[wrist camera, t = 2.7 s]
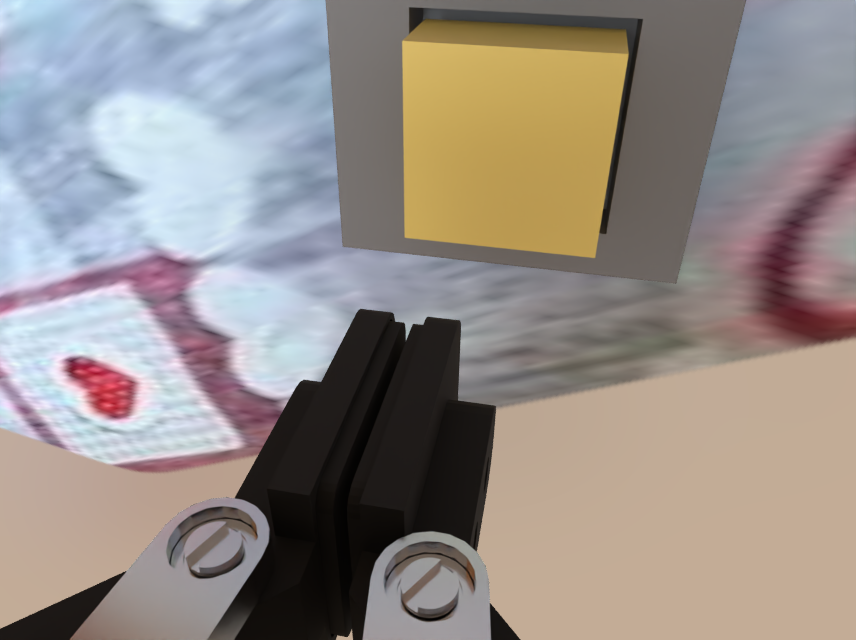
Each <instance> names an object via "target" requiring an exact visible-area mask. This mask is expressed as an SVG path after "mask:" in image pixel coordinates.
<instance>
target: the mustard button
mask: <svg viewBox="0 0 856 640" xmlns="http://www.w3.org/2000/svg"><path fill="white" fill-rule="evenodd" d="M628 55H629V52H628V43H627V34H626V29H610V28H591V27H572V26H553V25H534V24H515V23H496V22H477V21H458V20H439V19H425V20H424V21H423V22H422V23H420V24H419V25H418V26H417V27H416V28H415V29H414V30H413V31H412V32H411V33H410V34H409V35H408V36H407V37H406V38H405V39H404V40H403V41H402V62H403V145H404V227H405V238H412V239H421V240H431V241H440V242H449V243H459V244H468V245H478V246H487V247H496V248H506V249H515V250H524V251H534V252H543V253H552V254H562V255H571V256H580V257H590V258H595V255H596V249H597V243H598V237H599V231H600V225H601V219H602V213H603V207H604V201H605V195H606V189H607V183H608V177H609V171H610V165H611V158H612V152H613V146H614V140H615V134H616V128H617V122H618V116H619V110H620V104H621V98H622V92H623V86H624V80H625V74H626V68H627V62H628Z"/></svg>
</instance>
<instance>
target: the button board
mask: <svg viewBox="0 0 856 640" xmlns="http://www.w3.org/2000/svg"><path fill="white" fill-rule="evenodd" d="M745 2H746V0H326V11H327V26H328V40H329V55H330V69H331V84H332V98H333V113H334V127H335V142H336V156H337V170H338V185H339V199H340V214H341V228H342V243H343V247H351V248H360V249H369V250H378V251H387V252H396V253H405V254H414V255H423V256H432V257H441V258H450V259H459V260H468V261H477V262H486V263H495V264H504V265H513V266H522V267H531V268H540V269H549V270H558V271H567V272H576V273H585V274H594V275H603V276H612V277H621V278H630V279H639V280H648V281H657V282H666V283H675V284H676V282H677V278H678V274H679V270H680V266H681V262H682V258H683V254H684V250H685V246H686V242H687V238H688V234H689V230H690V226H691V221H692V217H693V213H694V209H695V205H696V201H697V197H698V193H699V189H700V185H701V181H702V177H703V173H704V169H705V165H706V161H707V157H708V153H709V148H710V144H711V140H712V136H713V132H714V128H715V124H716V120H717V116H718V112H719V108H720V104H721V100H722V96H723V92H724V88H725V84H726V79H727V75H728V71H729V67H730V63H731V59H732V55H733V51H734V47H735V43H736V39H737V35H738V31H739V27H740V23H741V19H742V15H743V11H744V6H745ZM425 19H439V20H458V21H477V22H496V23H515V24H534V25H553V26H572V27H591V28H610V29H626V34H627V43H628V52H629V55H628V62H627V68H626V74H625V80H624V86H623V92H622V98H621V104H620V110H619V116H618V122H617V128H616V134H615V140H614V146H613V152H612V158H611V165H610V171H609V177H608V183H607V189H606V195H605V201H604V207H603V213H602V219H601V225H600V231H599V237H598V243H597V249H596V255H595V258H590V257H580V256H571V255H562V254H552V253H543V252H534V251H524V250H515V249H506V248H496V247H487V246H478V245H468V244H459V243H449V242H440V241H431V240H421V239H412V238H405V227H404V145H403V62H402V41H403V40H404V39H405V38H406V37H407V36H408V35H409V34H410V33H411V32H412V31H413V30H414V29H415V28H416V27H417V26H418V25H419V24H420V23H422V22H423V21H424V20H425Z"/></svg>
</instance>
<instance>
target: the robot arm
mask: <svg viewBox="0 0 856 640" xmlns="http://www.w3.org/2000/svg"><path fill="white" fill-rule="evenodd" d="M460 337H461V322H460V321H459V320H451V319H442V318H434V317H427V318H426V320H425V322H424V325H418V324H413V325H412V327H411V330H410V333H409V335H408V338H407V340H406V331H405V324H404V323H402V322H395V318H394V314H393V313H391V312H383V311H374V310H366V309H360V310H358V312H357V313H356V315H355V317H354V319H353V321H352V323H351V325H350V327H349V329H348V331H347V333H346V335H345V337H344V339H343V341H342V343H341V345H340V347H339V348H338V350H337V352H336V354H335V356H334V358H333V360H332V362H331V364H330V366H329V368H328V370H327V372H326V374H325V376H324V378H323V380H322V382H317V381H309V380H303V381H301V382H300V383H299V384H298V386H297V387H296V388H295V390H294V392H293V394H292V396H291V397H290V399H289V401H288V403H287V405H286V406H285V408H284V410H283V412H282V414H281V415H280V417H279V419H278V421H277V423H276V424H275V426H274V428H273V430H272V432H271V433H270V435H269V437H268V439H267V441H266V442H265V444H264V446H263V448H262V450H261V451H260V453H259V455H258V457H257V459H256V460H255V462H254V464H253V466H252V468H251V470H250V471H249V473H248V475H247V477H246V479H245V480H244V482H243V484H242V486H241V487H240V489H239V491H238V493H237V495H236V497H235V498H228V497H226V498H215V499H209V500H206V501H203V502H200V503H196V504H194V505H192V506H190V507H188V508H187V509H185V510H183V511H181V512H180V513H178V514H177V515H176V516H175V517H174V518H173V519H172V520H170V521H169V522H168V523H167V524H166V525H165V526H164V528H163V529H162V530H161V531H160V532H159V533H158V535H157V536H156V537H155V538H154V539H153V541H152V542H151V543H150V544H149V545H148V547H147V548H146V549H145V550H144V551H143V553H142V554H141V555H140V556H139V557H138V559H137V560H136V561H135V562H134V563H133V565H132V566H131V567H130V568H129V569H128V570H127V571H125V572H123V573H121V574H119V575H117V576H114V577H112V578H110V579H108V580H106V581H104V582H101V583H99V584H97V585H95V586H93V587H91V588H88V589H86V590H84V591H82V592H80V593H78V594H75V595H73V596H71V597H69V598H66V599H64V600H62V601H60V602H58V603H56V604H53V605H51V606H49V607H47V608H45V609H43V610H40V611H38V612H36V613H34V614H32V615H29V616H28V617H25V618H23V619H21V620H19V621H16V622H14V623H12V624H10V625H8V626H5V627H3V628H1V629H0V640H336V637H337V635H339V636H344V637H348V636H349V634H350V632H351V629H352V633H353V640H520V639H519V637H518V636H517V635H516V634H515V633H514V631H513V630H512V629H511V628H510V627H509V625H508V624H507V623H506V622H505V620H504V619H503V618H502V617H501V616H500V614H499V613H498V612H497V611H496V610H495V608H494V607H493V606H492V605H491V604H490V596H489V579H488V575H487V570H486V566H485V564H484V563H483V561H482V559H481V558H480V556H479V554H478V553H477V547H478V541H479V535H480V529H481V523H482V517H483V511H484V505H485V499H486V493H487V487H488V480H489V473H490V465H491V457H492V448H493V438H494V426H495V414H496V406H493V405H486V404H479V403H471V402H464V401H458V383H459V360H460Z"/></svg>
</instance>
